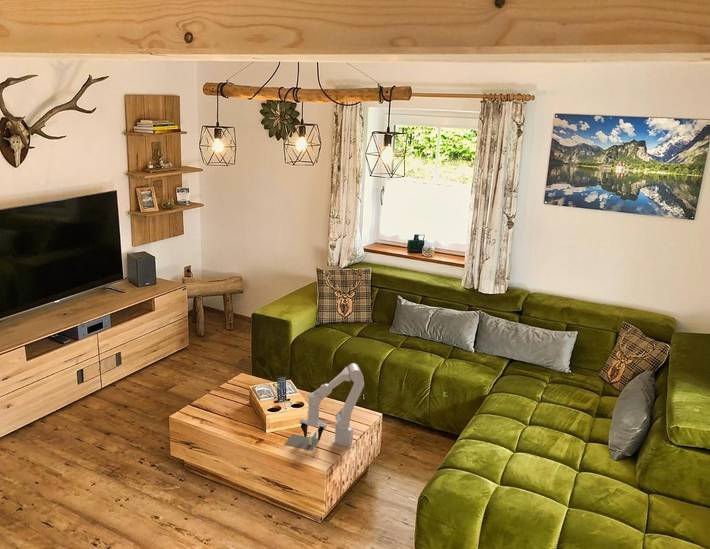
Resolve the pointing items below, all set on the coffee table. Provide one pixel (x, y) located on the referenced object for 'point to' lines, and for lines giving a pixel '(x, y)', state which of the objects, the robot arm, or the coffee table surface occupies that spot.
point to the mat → (301, 442)
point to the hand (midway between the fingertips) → (312, 437)
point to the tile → (312, 438)
